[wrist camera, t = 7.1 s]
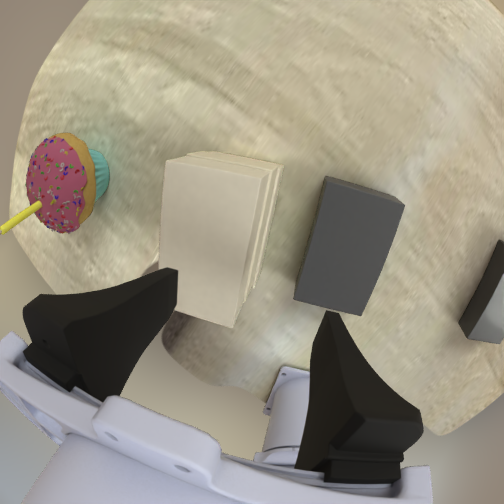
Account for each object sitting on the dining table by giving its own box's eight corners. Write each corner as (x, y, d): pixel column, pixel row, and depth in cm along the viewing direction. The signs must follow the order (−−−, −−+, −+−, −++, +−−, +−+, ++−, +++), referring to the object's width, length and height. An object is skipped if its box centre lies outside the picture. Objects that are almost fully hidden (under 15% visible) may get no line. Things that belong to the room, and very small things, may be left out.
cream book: (242, 306, 19) (232, 328, 16) (174, 285, 19) (158, 304, 17) (270, 171, 15) (261, 178, 13) (186, 155, 15) (165, 160, 13)
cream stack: (260, 273, 23) (246, 308, 19) (198, 256, 24) (172, 285, 19) (285, 162, 19) (275, 170, 15) (212, 148, 20) (183, 153, 15)
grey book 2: (490, 330, 20) (499, 344, 18) (458, 322, 21) (466, 338, 19) (529, 254, 16) (542, 265, 14) (498, 239, 17) (513, 250, 15)
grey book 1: (357, 299, 22) (361, 316, 20) (295, 283, 23) (293, 299, 21) (395, 197, 18) (405, 205, 16) (325, 175, 19) (326, 180, 17)
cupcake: (127, 218, 24) (27, 278, 13) (69, 213, 25) (-17, 258, 15) (123, 125, 20) (5, 139, 10) (63, 134, 22) (-34, 156, 11)
